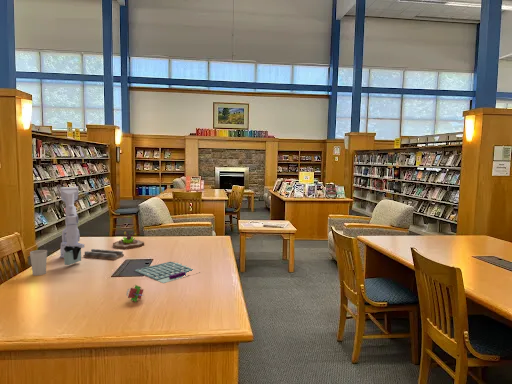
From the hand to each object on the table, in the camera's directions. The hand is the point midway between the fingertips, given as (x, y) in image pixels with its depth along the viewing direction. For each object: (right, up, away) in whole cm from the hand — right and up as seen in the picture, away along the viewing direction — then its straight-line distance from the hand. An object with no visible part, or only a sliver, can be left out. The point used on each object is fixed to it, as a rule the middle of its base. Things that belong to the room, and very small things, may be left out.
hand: (72, 259), depth 211 cm
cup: (-10, -5, -16) cm, 19 cm away
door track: (+10, -2, +19) cm, 22 cm away
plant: (+15, 0, +49) cm, 51 cm away
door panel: (0, -2, 0) cm, 2 cm away
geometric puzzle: (+53, -9, -51) cm, 74 cm away
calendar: (+58, -6, -9) cm, 59 cm away
